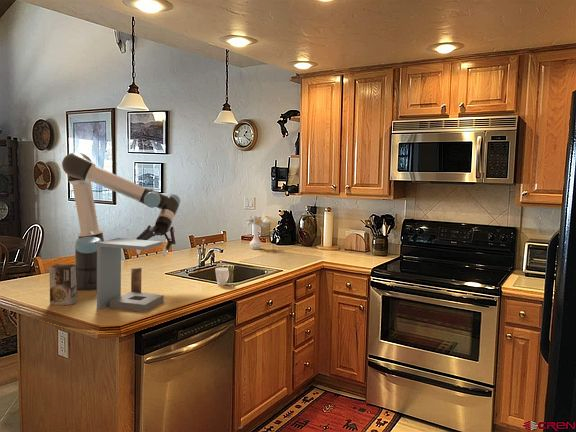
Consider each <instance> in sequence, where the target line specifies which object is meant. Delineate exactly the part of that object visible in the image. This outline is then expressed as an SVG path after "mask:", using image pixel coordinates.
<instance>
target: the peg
mask: <svg viewBox="0 0 576 432" xmlns="http://www.w3.org/2000/svg"><path fill="white" fill-rule="evenodd" d="M130 269H131V270H130V271H131V273H130V277H131V278H130V285H131V286H130V289H131V290H130V292H137V293H142V273H143V272H142V271H143V270H142V267H139V266H138V267H131V268H130Z"/></svg>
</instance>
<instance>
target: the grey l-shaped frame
mask: <svg viewBox="0 0 576 432" xmlns="http://www.w3.org/2000/svg"><path fill="white" fill-rule="evenodd" d="M160 246H163V241H160V240H149V239H148V240H137V239H134V238H122V237H117V238H111V239H108V240H104V241H102V242H98V243H97V289H96V309H97V310H101V309H104V308H106V307H108V306H109V307H110V301H111V300H113V299H115V298H118V297H120V296H122V289H121V287H122V286H121V285H122V249H125V250H135V251H136V250H141V251H146V250H149V249H154V248H156V247H160Z"/></svg>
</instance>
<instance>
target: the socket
mask: <svg viewBox="0 0 576 432" xmlns="http://www.w3.org/2000/svg"><path fill="white" fill-rule="evenodd" d="M164 297H165V295H164V294H155V293H147V292H141V293H137V292H131V291H130V292H127V293H125V294H121V296H120V297H118V298H115V299H113V300H111V301H110V305H109V308H110V309H113V310H114V309H116V310H122V311H123V310H125V311H133V312H134V311H135V312H140V313H141V312H143V313H145V312H147V311H150V310H151V309H153V308H154V307H155V308H156V307H157V306H158V305H159V306H160V305H161V304H162V303H164V302H165V301H164Z"/></svg>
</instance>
